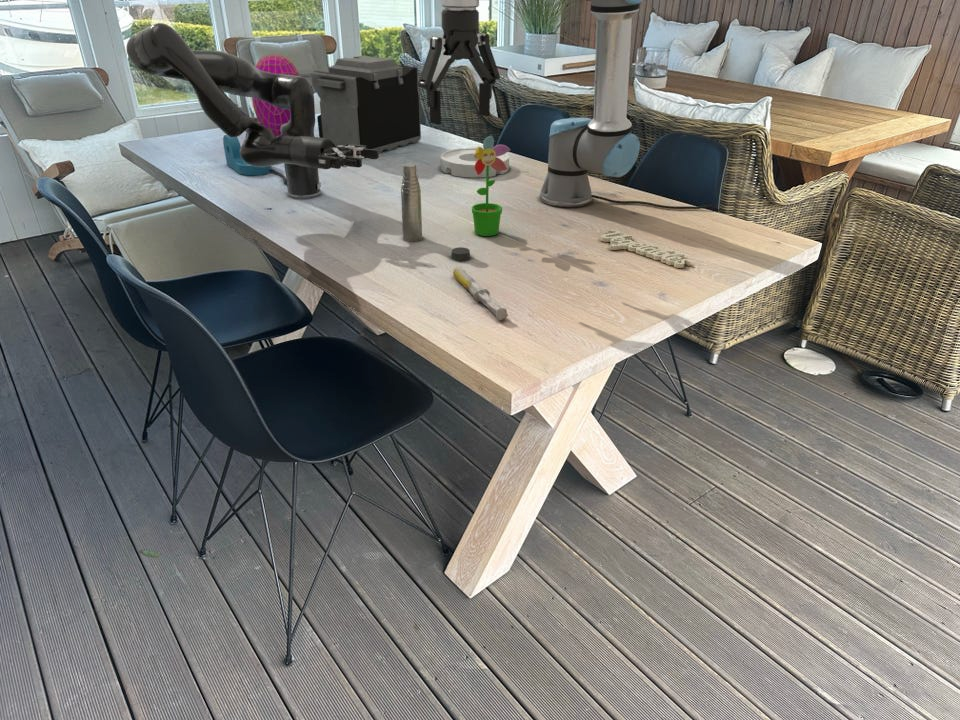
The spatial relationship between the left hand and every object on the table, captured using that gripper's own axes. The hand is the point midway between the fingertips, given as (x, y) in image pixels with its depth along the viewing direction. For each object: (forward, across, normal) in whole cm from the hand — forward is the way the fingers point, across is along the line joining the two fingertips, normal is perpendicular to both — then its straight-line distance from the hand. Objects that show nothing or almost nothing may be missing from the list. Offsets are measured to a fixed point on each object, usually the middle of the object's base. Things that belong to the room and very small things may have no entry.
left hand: (369, 158), depth 168 cm
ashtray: (+2, +68, +19) cm, 71 cm away
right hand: (+27, -7, -13) cm, 31 cm away
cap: (+27, -8, +18) cm, 33 cm away
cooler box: (-45, +82, +19) cm, 96 cm away
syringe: (+39, -27, +19) cm, 51 cm away
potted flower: (+27, +11, +19) cm, 35 cm away
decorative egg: (-81, +78, +19) cm, 113 cm away
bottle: (+11, 0, +19) cm, 22 cm away
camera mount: (-67, +39, +19) cm, 80 cm away
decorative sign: (+66, +13, +19) cm, 70 cm away
